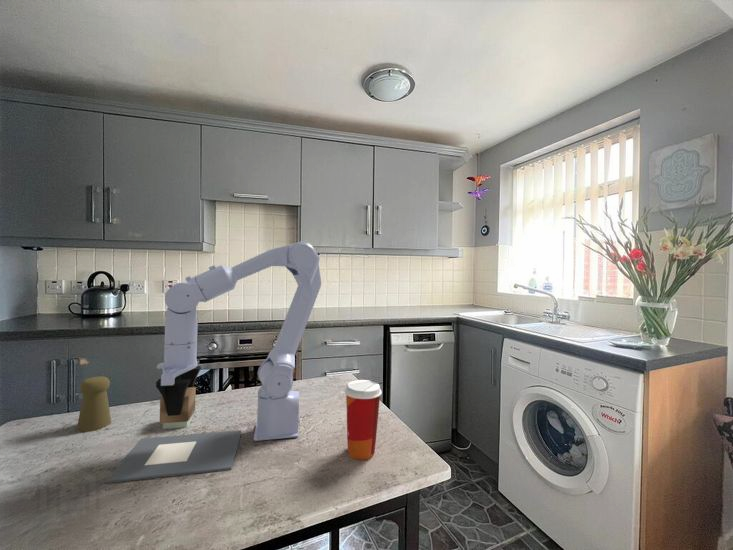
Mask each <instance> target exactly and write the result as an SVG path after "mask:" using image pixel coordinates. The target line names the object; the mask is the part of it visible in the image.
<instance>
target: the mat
mask: <svg viewBox="0 0 733 550" xmlns="http://www.w3.org/2000/svg"><path fill="white" fill-rule="evenodd" d="M242 431H243V430H241V429H238V430H228V431H226V430H225V431H217V432H216V431H214V432H204V433H193V434H192V433H191V434H190V433H189V434H179V435H169V436H166V435H165V436H156V437H155V436H154V437H144V438H140V440H139V441H138V442H137V443H136V444H135V445H134V447H132V449H131V450H130V451H129V453H127V455H126V456H125V457H124V458H123V460H121V462H120V463H119V464H118V466H117V467H116V468H115V469H114V470H113V471H112V473H111V474H110V475H109V476H108V477H107V479H106V480H105V481H104V483H105V484H114V483H121V482H130V481H131V482H132V481H139V480H140V481H141V480H147V479H150V480H151V479H159V478H167V477H174V476H175V477H176V476H185V475H193V474H194V475H195V474H202V473H203V474H204V473H212V472H220V471H231V470H233V469H232V468H233V464H234V460H235V456H236V454H237V450H238V446H239V442H240V439H241V435H242Z"/></svg>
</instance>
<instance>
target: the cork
mask: <svg viewBox="0 0 733 550" xmlns="http://www.w3.org/2000/svg"><path fill="white" fill-rule="evenodd" d="M110 385H111V381H110V379H109V378H108V377H106V376H101V375H100V376H94V377H93V376H92V377H89V378H88V377H87V378H86V379H85V380H83V381H82V382H81V384H80V387H79V391H80V393H81V394H82V399H81V405H80V410H79V414H78V419H77V420H78V421H77V426H76V431H77V430H78V431H77V432H80V433H88V432H89V433H90V432H95V431H99V430H102V429H104V428H106V427H107V425H108V426H109V425H110V424H111V423H112V418H111V411H110V404H109V398H108V392H107V390H109V388H110ZM103 427H104V428H103ZM101 428H102V429H101ZM98 429H99V430H98Z"/></svg>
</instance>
